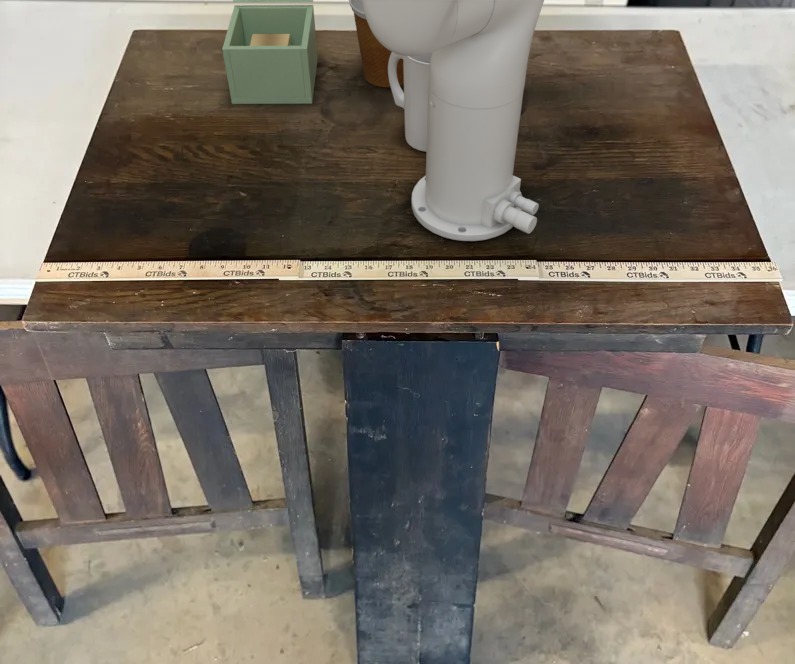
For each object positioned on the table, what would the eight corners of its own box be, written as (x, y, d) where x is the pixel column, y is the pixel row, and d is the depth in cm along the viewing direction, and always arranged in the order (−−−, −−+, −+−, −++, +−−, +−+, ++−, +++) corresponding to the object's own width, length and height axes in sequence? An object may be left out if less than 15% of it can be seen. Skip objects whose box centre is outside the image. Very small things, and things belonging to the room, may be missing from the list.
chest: (312, 103, 105) (307, 48, 99) (231, 104, 105) (222, 49, 99) (317, 58, 113) (313, 4, 107) (242, 58, 113) (234, 5, 107)
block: (293, 68, 110) (290, 33, 106) (290, 87, 106) (286, 52, 103) (257, 68, 110) (252, 33, 106) (252, 87, 106) (247, 53, 103)
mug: (468, 136, 100) (474, 46, 91) (434, 160, 97) (437, 70, 88) (406, 107, 105) (406, 19, 96) (372, 130, 101) (369, 41, 92)
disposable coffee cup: (348, 92, 107) (343, 5, 98) (356, 56, 113) (353, -29, 104) (419, 95, 106) (421, 8, 97) (423, 58, 113) (425, -27, 104)
